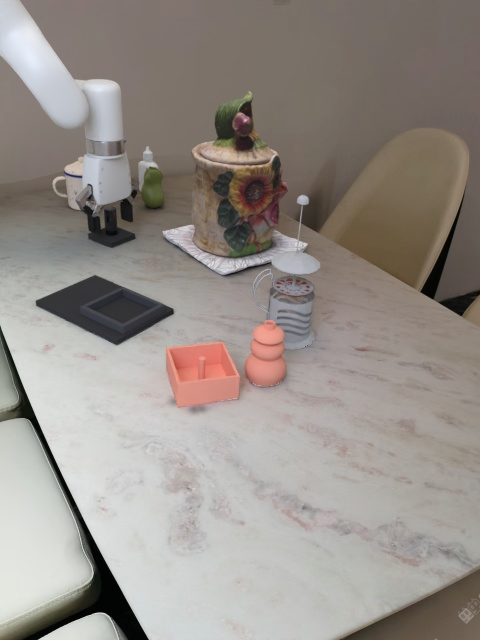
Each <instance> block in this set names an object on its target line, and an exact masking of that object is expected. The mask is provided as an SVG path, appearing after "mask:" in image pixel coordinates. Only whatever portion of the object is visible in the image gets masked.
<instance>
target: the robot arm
mask: <svg viewBox="0 0 480 640" xmlns="http://www.w3.org/2000/svg"><path fill="white" fill-rule="evenodd" d="M0 57H1V58H2V59H3V60H4V61H5V62H6V63H7V64H8V65H9V66H10V67H11V68H12V70H13V71H14V72H15V73H16V74H17V76H18V77H19V78H20V79H21V80H22V82H23V84H24V85H25V86H26V87H27V88H28V90H29V91H30V93H31V94H32V95H33V96H34V98H35V100H37V102H38V103H39V105H40V107H41V109H42V110H43V111H44V113H45V114H46V115H47V116H48V117H49V119H51V121H52V122H53V123H54V124H55V125H56V126H58V127H59V128H62V129H65V130H77V129H79V128H81V127H83V126H84V135H85V136H84V137H85V146H86V153H84V155H83V157H84V159H83V170H82V183H83V191H82V192H81V193H80V194H79V195H78V196H77V197H76V198H75V201H76V203H77V204H78V206H79V208H80V209H81V210H82V211H81V212H83V214H85V215H86V218H87V228H88V232H89V233H91V232H92V233H95V234H98V235H99V234H101V229H102V226H101V217H100V216H99V213H100V210H101V209H102V208H101V206H103V207H105V206H106V205H110V204H113V203H116V202H119V201H120V203H119V207H120V208H119V209H120V219H121V220H122V221H125V222H128V223H133V222H134V207H133V205H135V202H136V201H135V198H137V195H138V190H139V183H140V182H139V179H135V178H132V176H131V168H130V162H129V158H128V153H127V151H126V148H125V144H126V143H127V139H126V137H125V134H124V116H123V99H122V98H123V97H122V89H121V86H120V84H118V83H117V82H116V81H114V80H111V79H103V78H91V79H86V80H85V79H76V78H74V77H73V76H72V74H71V73H70V72H69V70H68V69H67V67H66V65H65V64H64V63H63V62H62V60H61V58H59V56H58V54H57V53H56V51H55V50H54V49H53V47H52V46H51V44H50V43H49V41H48V40H47V38H45V36H44V34H43V31H41V29H40V27H39V26H38V23H36V21H35V20H34V18H33V17H32V16H31V15H30V13H29V11H28V10H27V9H26V7H25V5H24V4H23V3H22V1H21V0H0ZM95 200H96V201H95ZM86 201H88V203H87V204H86ZM93 204H94V205H95V206H94V209H93V210H92V207H93Z"/></svg>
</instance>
